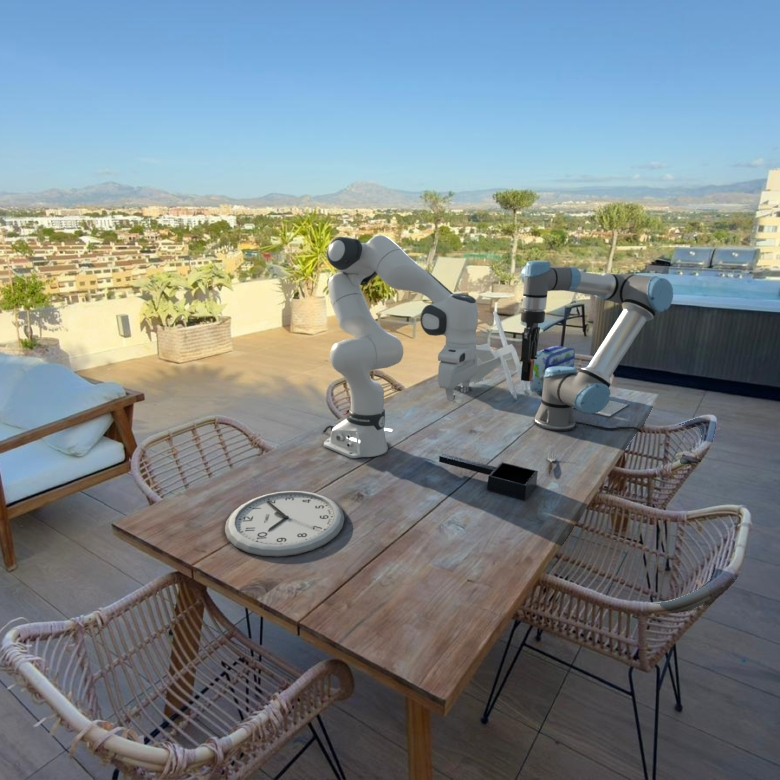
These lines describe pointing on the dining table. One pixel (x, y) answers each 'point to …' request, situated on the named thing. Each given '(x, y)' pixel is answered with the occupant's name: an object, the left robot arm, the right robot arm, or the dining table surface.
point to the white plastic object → (498, 360)
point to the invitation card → (611, 408)
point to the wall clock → (284, 523)
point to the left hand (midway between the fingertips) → (457, 396)
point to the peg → (531, 369)
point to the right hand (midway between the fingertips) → (526, 379)
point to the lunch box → (550, 364)
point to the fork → (551, 460)
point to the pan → (500, 476)
